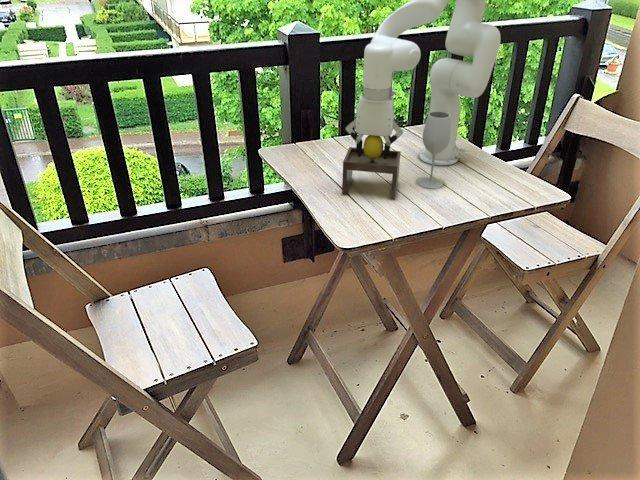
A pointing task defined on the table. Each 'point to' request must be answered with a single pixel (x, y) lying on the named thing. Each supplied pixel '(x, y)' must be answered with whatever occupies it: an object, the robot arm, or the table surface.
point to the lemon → (373, 146)
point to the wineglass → (435, 142)
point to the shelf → (371, 167)
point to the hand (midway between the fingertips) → (372, 155)
